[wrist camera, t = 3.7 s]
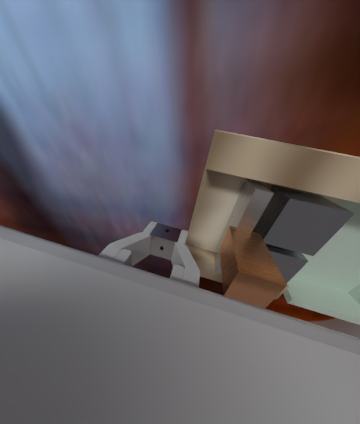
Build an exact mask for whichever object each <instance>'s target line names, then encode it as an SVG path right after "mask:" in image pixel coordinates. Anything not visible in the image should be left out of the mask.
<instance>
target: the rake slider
mask: <svg viewBox="0 0 360 424" xmlns="http://www.w3.org/2000/svg"><path fill="white" fill-rule="evenodd" d="M273 194H274V193H273V192H272V191H271V190H269V189H268V188H267V187H266V186H265V185H264V184H262V183H261V182H259V181H254V180H250V179H246V180H245V182H244V185H243V187H242V189H241V192H240V194H239V196H238V199H237V201H236V203H235V206H234V208H233V210H232V213H231V215H230V217H229V220H228V222H227V224H226V227H225V229H224V231H223V234H222V236H221V238H220V241H219V243H218V245H217V248H216V250H215V272H216V273H219V274H222V286H223V296H226V297H230V298H233V299H236V300H239V301H242V302H245V303H249V304H252V305H255V306H258V307H261V308H264V309H265V308H266V307H267V306H268V305H269V304H270V303H271V302H272V301H273V300H274V299H275V298H276V297H277V296H278V295H279V294H280V293H281V292H282V291H283V289H284V288H285V287H286V286H287V284H286V282H285V280H284V278H283V277H282V275H281V273H280V271H279V269H278V267H277V265H276V263H275V261H274V259H273V257H272V255H271V254H270V252H269V250H268V248H267V246H266V244H265V242H264V240H263V238H262V236H261V234H260V233H256V232H252V231H253V229H254V228H255V226H256V224H257V222H258V221H259V219H260V217H261V215H262V214H263V212H264V210H265V208H266V206H267V205H268V203H269V201H270V199H271V198H272V196H273Z"/></svg>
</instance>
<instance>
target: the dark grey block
mask: <svg viewBox="0 0 360 424" xmlns="http://www.w3.org/2000/svg"><path fill="white" fill-rule="evenodd" d="M270 190H271V191H272V192H273V193H274V194H273V196H272V198H271V199H270V201H269V203H268V205H267V206H266V208H265V210H264V212H263V214H262V215H261V217H260V219H259V221H258V222H257V224H256V226H255V230H256V232H257V233H260V234H261V236H262V238H263V240H264V242H265V244H269V245H273V246H277V247H280V248H284V249H288V250H292V251H295V252H299V253H303V254H307V255H311V256H314V255H315V254H316V253H317V252H318V251H319V250H320V249H321V248H322V247H323V246H324V245H325V244H326V243H327V242H328V241H329V240H330V239H331V238H332V237H333V236H334V235H335V234H336V233H337V232H338V231H339V230H340V229H341V228H342V227H343V225H344V224H345V223H346V222H347V221H348V220H349V219H350V218H351V217H352V216H353V215H354V214H355V213H353V212H351V211H349V210H347V209H345V208H343V207H341V206H339V205H337V204H336V203H334V202H332V201H330V200H328V199H326V198H324V197H322V196H317V195H313V194H308V193H304V192H299V191H295V190H290V189H286V188H281V187H277V186H272V187H271V189H270Z"/></svg>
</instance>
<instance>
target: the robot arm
mask: <svg viewBox="0 0 360 424" xmlns="http://www.w3.org/2000/svg"><path fill="white" fill-rule="evenodd" d="M187 235H188V231H186V230H181V229H178V228H174V227H170V226H167V225H164V224H160V223H157V222H153V221H151V222H150V223H149V225H148V226H147V227H146V229H145V230H144V231H143V232H142V233H141V232H140V233H137V234H135V235H132V236H129V237H126V238H124V239H121V240H118V241H116V242H113V243H110V244H109V245H108V246H107V247H106V248H105V249H104V250H103V251H102V252H101V253H100V254H99V255H98V256H96V255H93V254H90V253H87V252H83V251H80V250H77V249H74V248H71V247H68V246H64V245H61V244H58V243H55V242H52V241H48V240H45V239H42V238H39V237H36V236H33V235H29V234H26V233H23V232H20V231H17V230H14V229H10V228H7V227H4V226H1V225H0V424H360V338H357V337H353V336H350V335H347V334H343V333H341V332H337V331H334V330H331V329H328V328H325V327H322V326H318V325H315V324H312V323H309V322H306V321H303V320H299V319H296V318H293V317H290V316H287V315H284V314H280V313H277V312H274V311H271V310H268V309H264V308H261V307H258V306H255V305H252V304H249V303H245V302H242V301H239V300H236V299H233V298H230V297H226V296H223V295H220V294H217V293H214V292H210V291H207V290H204V289H201V288H199V279H200V270H199V268H198V266H197V264H196V262H195V260H194V258H193V257H192V255H191V253H190V251H189V249H188V247H187V245H185V242H186V239H187ZM150 254H151V255H155V256H158V257H162V258H165V259H168V260H171V262H172V266H173V269H172V272H171V276H170V279H169V278H166V277H163V276H160V275H157V274H153V273H150V272H147V271H144V270H141V269H137V268H134V267H132V266H133V265H135V264H136V263H138V262H139V261H141V260H143V259H144V258H146V257H147V256H149V255H150Z"/></svg>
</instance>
